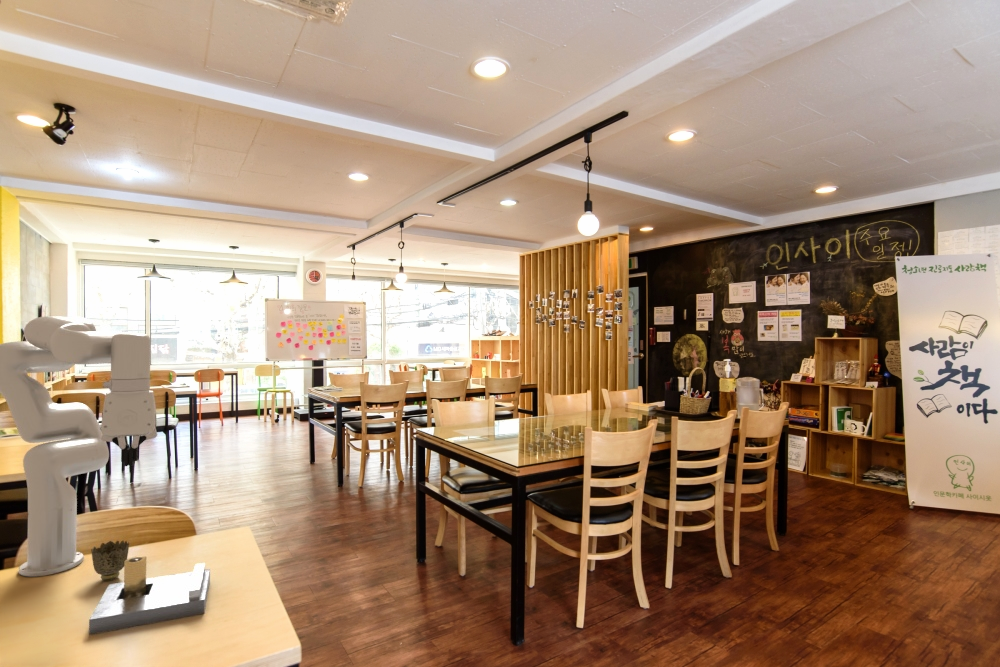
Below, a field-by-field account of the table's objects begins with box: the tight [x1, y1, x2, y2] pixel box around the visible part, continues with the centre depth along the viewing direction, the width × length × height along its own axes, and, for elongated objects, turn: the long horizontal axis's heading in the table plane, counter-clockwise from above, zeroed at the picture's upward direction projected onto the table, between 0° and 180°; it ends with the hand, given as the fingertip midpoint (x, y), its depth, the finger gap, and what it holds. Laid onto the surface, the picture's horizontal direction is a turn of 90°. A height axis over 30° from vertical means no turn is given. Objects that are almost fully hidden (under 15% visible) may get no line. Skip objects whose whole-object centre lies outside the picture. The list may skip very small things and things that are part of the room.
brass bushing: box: [123, 555, 147, 599], centre depth 116 cm, size 4×4×10 cm
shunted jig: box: [88, 562, 211, 636], centre depth 116 cm, size 16×20×5 cm
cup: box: [90, 540, 130, 582], centre depth 129 cm, size 8×7×8 cm
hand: (129, 464), depth 123 cm, fingers closed
